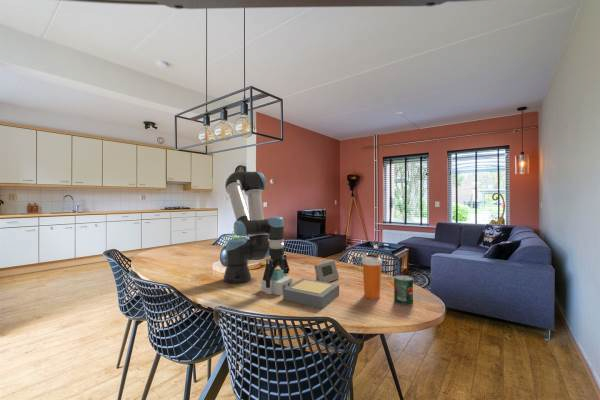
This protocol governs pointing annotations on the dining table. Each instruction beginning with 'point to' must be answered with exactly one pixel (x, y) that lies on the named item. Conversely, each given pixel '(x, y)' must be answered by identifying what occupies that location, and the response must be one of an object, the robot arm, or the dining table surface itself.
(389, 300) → the dining table surface
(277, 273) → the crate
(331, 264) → the digital clock
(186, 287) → the dining table surface
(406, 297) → the canned tomato
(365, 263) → the shaker bottle
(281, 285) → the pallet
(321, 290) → the dock
